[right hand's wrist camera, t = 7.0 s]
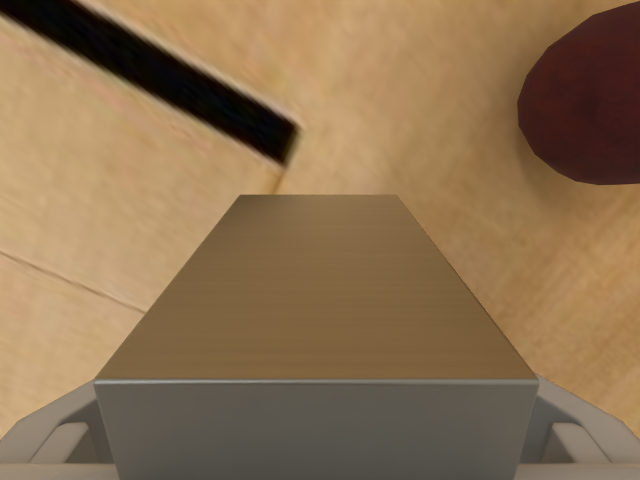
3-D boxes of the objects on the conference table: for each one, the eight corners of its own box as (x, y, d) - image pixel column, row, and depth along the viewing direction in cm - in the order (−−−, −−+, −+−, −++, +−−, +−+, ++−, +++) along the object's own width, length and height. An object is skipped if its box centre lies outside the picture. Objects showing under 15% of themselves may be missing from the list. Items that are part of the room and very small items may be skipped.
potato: (623, 167, 21) (762, 201, 14) (483, 170, 21) (558, 205, 14) (665, 15, 18) (860, -29, 12) (504, 19, 18) (608, -24, 12)
